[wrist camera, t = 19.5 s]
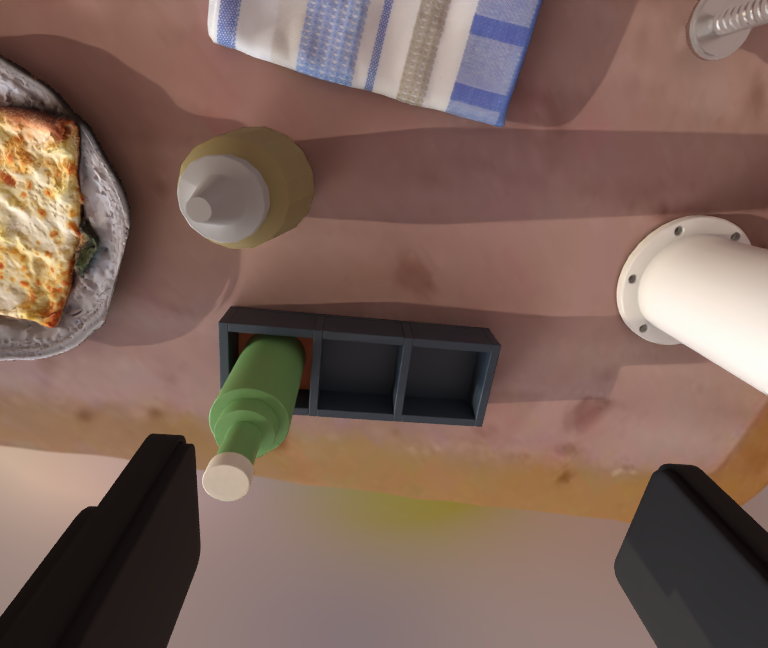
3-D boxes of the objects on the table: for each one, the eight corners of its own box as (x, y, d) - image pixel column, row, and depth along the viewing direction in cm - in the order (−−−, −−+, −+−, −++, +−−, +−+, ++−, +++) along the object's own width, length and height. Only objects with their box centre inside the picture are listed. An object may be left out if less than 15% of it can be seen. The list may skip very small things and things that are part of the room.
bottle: (307, 330, 41) (276, 446, 26) (304, 383, 44) (274, 521, 28) (244, 325, 41) (172, 441, 25) (244, 379, 43) (178, 517, 27)
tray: (489, 328, 43) (501, 345, 39) (472, 404, 46) (482, 427, 43) (230, 306, 41) (218, 322, 37) (232, 388, 44) (220, 410, 40)
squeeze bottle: (337, 191, 37) (322, 229, 21) (265, 247, 39) (197, 323, 22) (275, 105, 35) (200, 70, 18) (199, 168, 36) (65, 188, 19)
